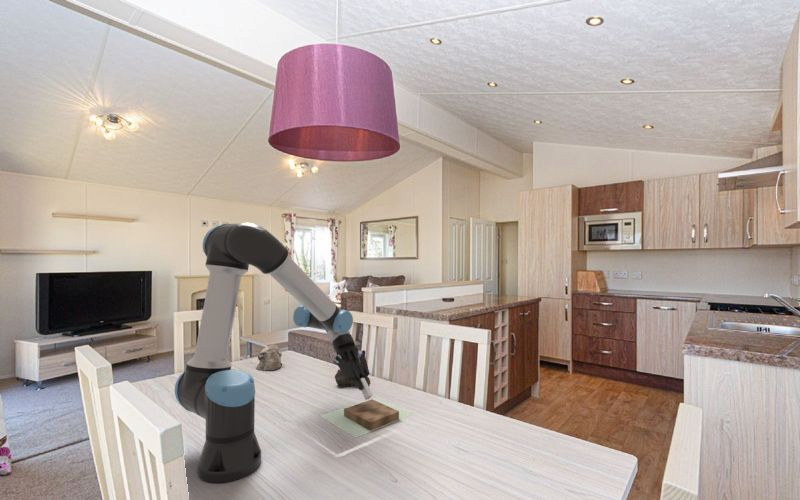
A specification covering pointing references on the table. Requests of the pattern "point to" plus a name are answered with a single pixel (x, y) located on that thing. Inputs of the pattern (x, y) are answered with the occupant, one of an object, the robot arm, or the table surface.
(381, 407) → the board
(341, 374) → the rock
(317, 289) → the robot arm
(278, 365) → the rock
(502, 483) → the table surface
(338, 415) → the mat
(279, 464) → the table surface
